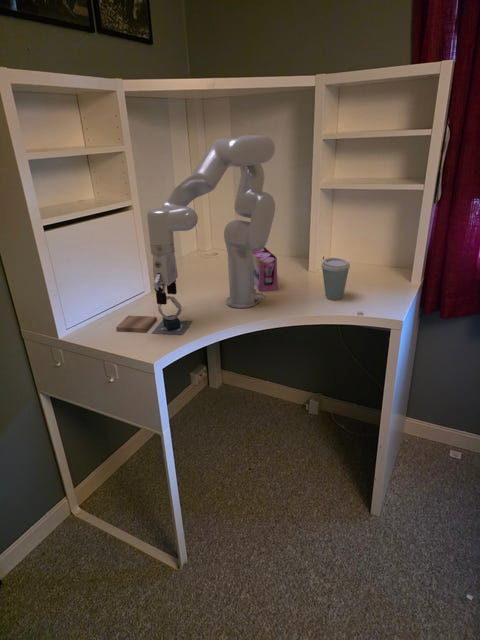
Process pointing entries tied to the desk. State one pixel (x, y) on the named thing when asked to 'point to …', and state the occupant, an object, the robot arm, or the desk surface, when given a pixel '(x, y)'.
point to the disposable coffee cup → (335, 277)
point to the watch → (172, 320)
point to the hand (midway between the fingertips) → (167, 298)
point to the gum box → (265, 270)
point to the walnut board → (136, 324)
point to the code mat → (162, 330)
